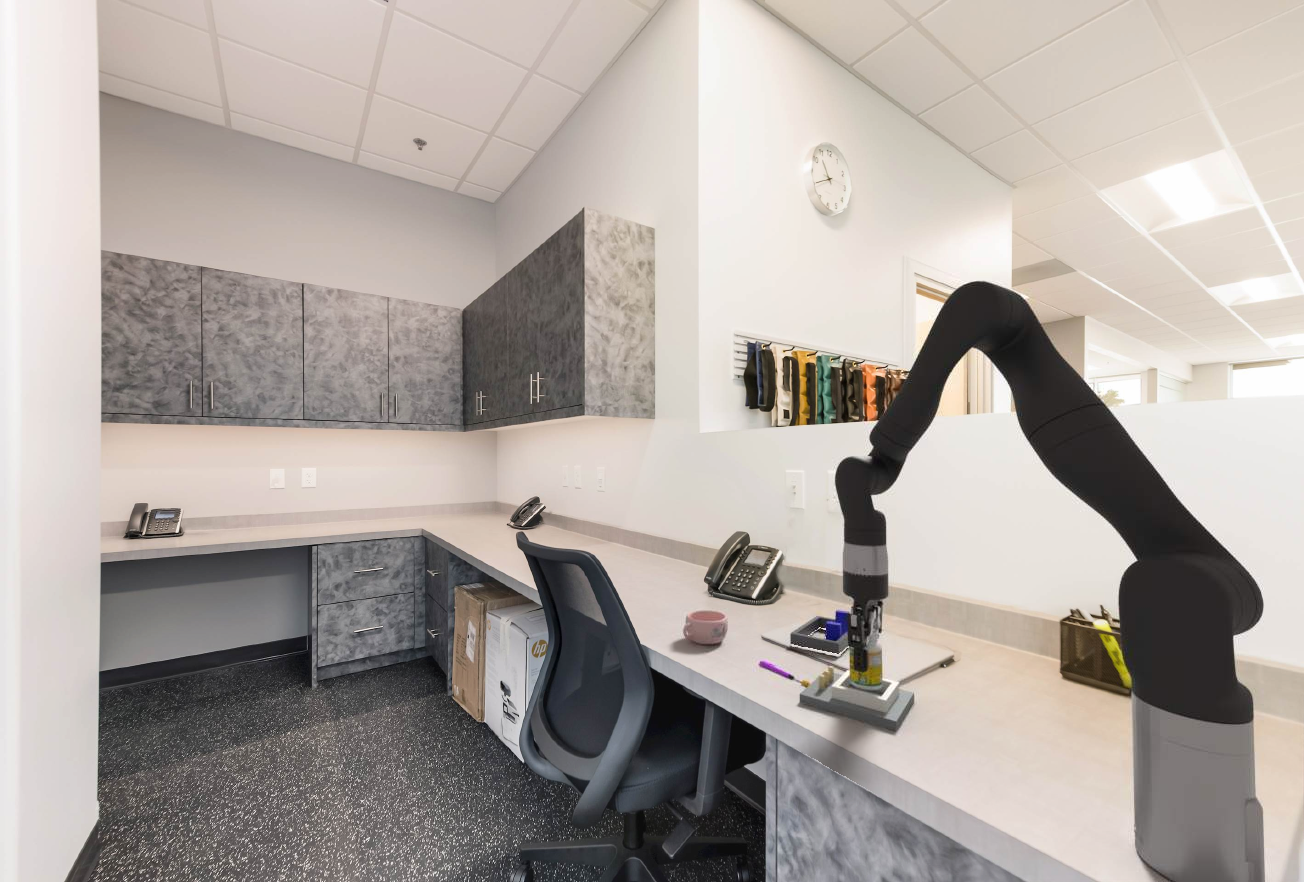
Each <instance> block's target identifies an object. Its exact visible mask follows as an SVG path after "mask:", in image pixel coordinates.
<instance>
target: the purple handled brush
mask: <svg viewBox="0 0 1304 882" xmlns="http://www.w3.org/2000/svg"><path fill="white" fill-rule="evenodd" d="M759 666H761V667H762V668H763V667H764V668H765V669H768V670H770V671H772V672H774V673H776V674H779V675H780V676H783V677H785V678H787V679H791V680H795V681H797V682H799V683H801V685H802V686H805V688H807V687H808V686H809V685H810V684H811V683H812V682H809V681H807V680H806V679H803V680H799V679H797V678H795V675H793V674H791V673H789V672H787V671H785V670H783V669H781V668H779V667H776V665H775V664H773V663H771V662H768V661H766V660H760V661H759Z"/></svg>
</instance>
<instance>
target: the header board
mask: <svg viewBox="0 0 1304 882" xmlns="http://www.w3.org/2000/svg"><path fill="white" fill-rule="evenodd" d="M834 668H835V667H834V666H832V665H830V666H829V665H828V666H827V670H825V669H824V670H823V672H822V673H821V674H819V675H818V676H817V677H816V679H814V680H813V681H812V682H810V683H811V684H810V685H809V686H808V687H805V688H804V690H802V691H801V692H799V703H800V704H804V705H807V706H810V707H814V708H817V709H820V710H821V709H822V710H824V711H827V712H830V713H833V714H838V715H841V716H844V717H847V718H851V719H854V720H858V721H862V722H865V723H869V724H871V725H875V726H879V727H882V728H885V729H888V730H891V731H898V728H900V725H901V724H902V722H903V720H904V719H905V717H906V716H907V714H908V712H909V710H910V709H911V708H912V706H913V704H914V702H915V692H913V691H909V690H905V689H901V688H900V682H899V681H896V680H891V679H887V678H883V677H882V683H883V684H882V687H881V688H880V689H878V690H864V689H860V688H857V687H855V686H854V685H852V684H851V682H850V669H847V670H846V671H845V672H844V673H843V674H840V673H837V672H835V669H834Z"/></svg>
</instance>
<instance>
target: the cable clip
mask: <svg viewBox="0 0 1304 882" xmlns="http://www.w3.org/2000/svg"><path fill="white" fill-rule="evenodd" d="M847 613H850V614H851V611H847V610H840V609H836V610H835V615H834V619H835V622H832V621H830V622H828V621H827V623H826V631H825V634H824V638H825V637H826V639H827V640H832V641H837V640H838V639H839V638H840V637H842V636H843V635H844V634H845V633H846V632H847V620H846V615H847Z"/></svg>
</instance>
